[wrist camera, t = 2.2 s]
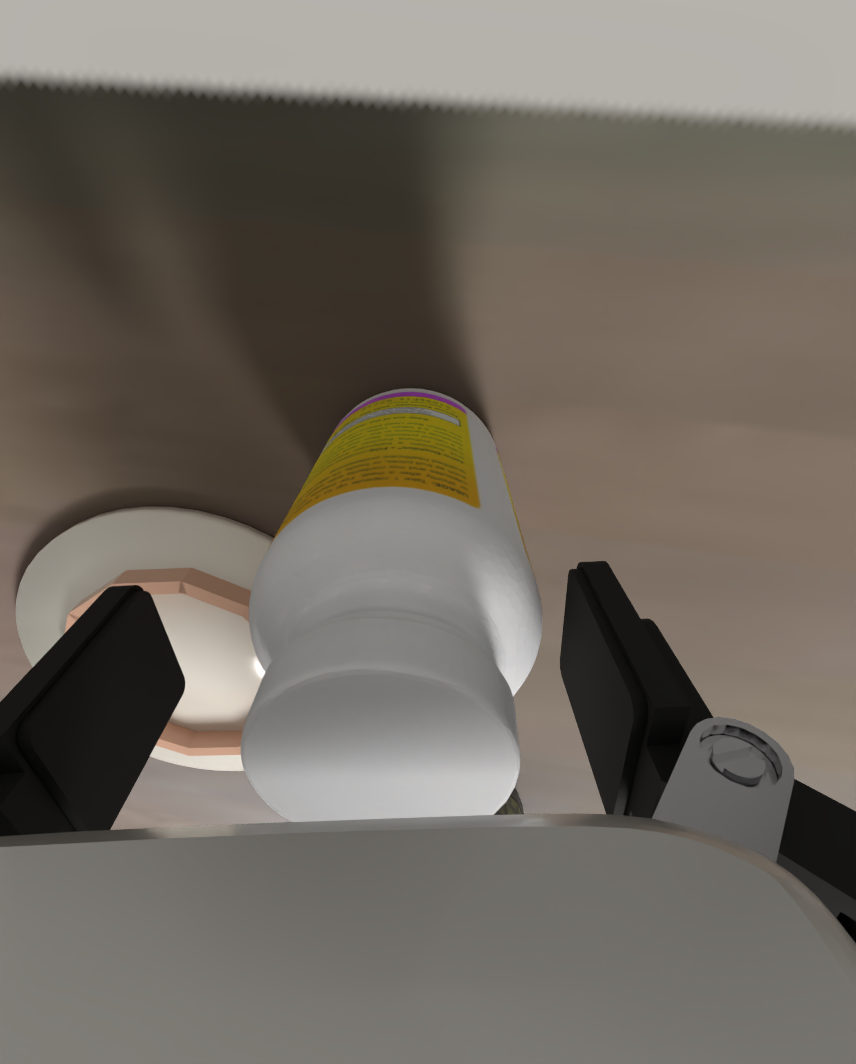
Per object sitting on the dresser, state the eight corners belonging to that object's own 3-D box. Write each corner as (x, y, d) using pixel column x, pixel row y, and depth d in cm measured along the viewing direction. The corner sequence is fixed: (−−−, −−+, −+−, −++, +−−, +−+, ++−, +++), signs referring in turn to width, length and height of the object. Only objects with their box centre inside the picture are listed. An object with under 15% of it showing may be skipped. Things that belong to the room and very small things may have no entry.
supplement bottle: (291, 454, 19) (84, 739, 8) (429, 344, 17) (410, 519, 6) (400, 571, 22) (360, 911, 11) (532, 487, 20) (655, 800, 8)
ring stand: (340, 497, 20) (332, 516, 19) (381, 758, 28) (378, 785, 26) (-43, 514, 21) (-77, 533, 19) (101, 763, 29) (84, 790, 27)
